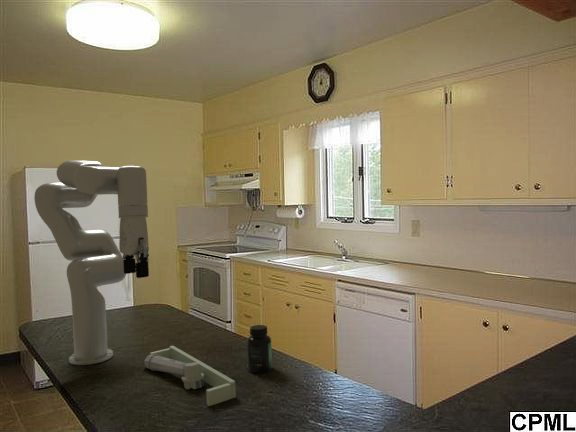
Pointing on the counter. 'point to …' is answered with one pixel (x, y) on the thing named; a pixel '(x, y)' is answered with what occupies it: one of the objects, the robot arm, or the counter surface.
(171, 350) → the bracket
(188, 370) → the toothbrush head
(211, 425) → the counter surface
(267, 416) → the counter surface
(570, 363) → the counter surface
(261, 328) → the supplement bottle
